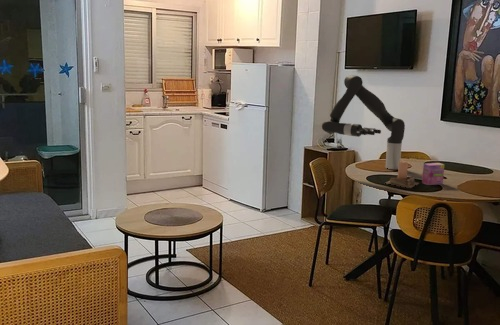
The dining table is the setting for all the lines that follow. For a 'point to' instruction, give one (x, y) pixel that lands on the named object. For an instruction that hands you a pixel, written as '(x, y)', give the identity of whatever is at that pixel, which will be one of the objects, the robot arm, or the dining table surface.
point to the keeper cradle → (403, 182)
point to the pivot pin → (402, 170)
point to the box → (433, 173)
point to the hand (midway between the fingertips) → (377, 132)
